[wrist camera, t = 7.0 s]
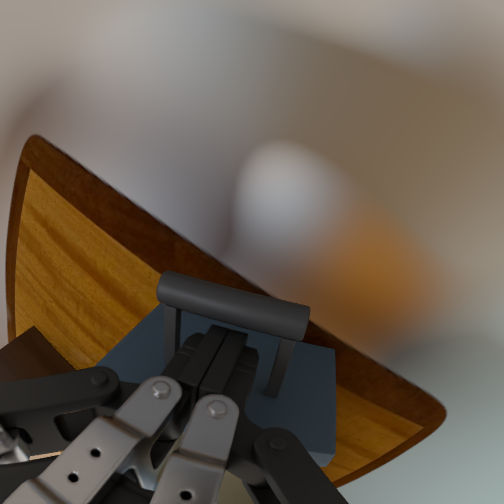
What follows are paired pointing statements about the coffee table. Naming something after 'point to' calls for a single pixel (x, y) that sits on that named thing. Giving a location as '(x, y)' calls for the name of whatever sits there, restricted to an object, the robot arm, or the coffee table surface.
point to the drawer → (269, 347)
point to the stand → (30, 358)
